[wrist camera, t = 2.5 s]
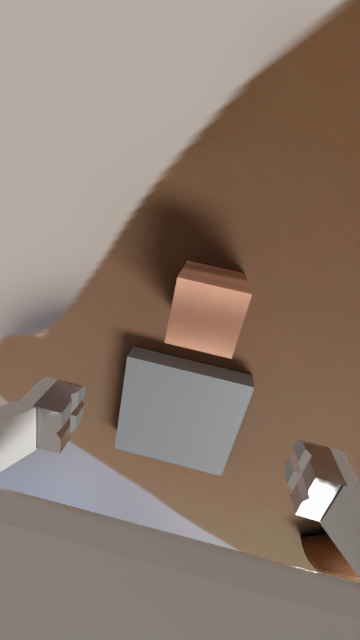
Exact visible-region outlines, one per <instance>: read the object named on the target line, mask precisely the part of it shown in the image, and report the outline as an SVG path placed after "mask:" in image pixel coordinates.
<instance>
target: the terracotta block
mask: <svg viewBox="0 0 360 640" xmlns="http://www.w3.org/2000/svg"><path fill="white" fill-rule="evenodd" d="M251 296H252V293H251V290H250V287H249V284H248V281H247V278H246V275H245V273H241V272H237V271H232V270H228V269H224V268H219V267H215V266H210V265H206V264H201V263H197V262H193V261H188V260H187V261H186V263H185V265H184V267H183V268H182V270H181V272H180V273H179V275H178V277H177V281H176V286H175V292H174V297H173V302H172V307H171V312H170V317H169V322H168V327H167V332H166V337H165V342H164V343H168V344H172V345H176V346H180V347H184V348H188V349H193V350H197V351H201V352H205V353H209V354H213V355H217V356H222V357H226V358H230V359H232V356H233V353H234V350H235V346H236V343H237V340H238V337H239V334H240V331H241V328H242V324H243V321H244V318H245V315H246V312H247V309H248V306H249V302H250V299H251Z"/></svg>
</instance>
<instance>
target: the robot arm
mask: <svg viewBox="0 0 360 640" xmlns="http://www.w3.org/2000/svg"><path fill="white" fill-rule="evenodd" d="M84 396H85V387H84V386H81V385H77V384H74V383H70V382H67V381H63V380H58V379H55V378H51V377H44V378H43V379H42V380H41V381H39V382H38V383H37V384H36V385H35V386H34V387H33V388H32V389H31V390H30V391H29V392H28V393H27V394H26V395H25V396H24V397H23V398H22V399H21V400H20V401H19V402H18V403H17V402H11V403H8V404H6V405H3V406H0V472H1V471H2V470H4V469H5V468H7V467H8V466H10V465H12V464H14V463H15V462H17V461H18V460H20V459H21V458H23V457H25V456H26V455H28V454H30V453H31V452H33V451H35V450H36V448H39V449H43V450H47V451H52V452H56V453H61V451H62V450H63V448H64V447H65V445H66V444H67V442H68V440H69V439H70V432H72V431H74V430H76V428H77V426H78V425H79V423H80V421H81V418H82V416H83V411H84V403H83V402H82V399H83V398H84ZM294 450H295V454H293V455H291V456H289V458H288V461H287V463H286V470H285V473H286V480H287V484H288V485H289V486H290V488H291V489H292V490H293V492H292V494H291V500H292V504H293V508H294V512H295V515H298V516H302V517H305V518H308V519H312V520H315V521H319V522H321V523H320V524H321V525H322V527H323V528H324V529H325V531H326V532H327V534H328V535H329V536H330V538H331V539H332V541H333V542H334V544H335V545H336V546H337V548H338V549H339V551H340V552H341V553H342V555H343V556H344V558H345V559H346V560H347V562H348V563H349V565H350V566H351V567H352V569H353V570H354V572H355V573H356V574H357V576H358V577H359V579H360V482H359V480H358V478H357V476H356V474H355V472H354V470H353V468H352V467H351V465H350V463H349V461H348V459H347V457H346V455H345V453H344V452H343V451H342V450H340V449H336V448H332V447H325V446H322V445H318V444H314V443H309V442H305V441H301V440H299V441H297V442H296V444H295V446H294ZM0 640H360V584H359V583H355V582H352V581H348V580H344V579H340V578H337V577H333V576H329V575H326V574H322V573H318V572H314V571H311V570H307V569H303V568H299V567H296V566H292V565H288V564H285V563H281V562H277V561H273V560H270V559H266V558H262V557H258V556H255V555H251V554H247V553H243V552H240V551H236V550H232V549H228V548H225V547H221V546H217V545H213V544H210V543H206V542H202V541H199V540H195V539H191V538H187V537H184V536H180V535H176V534H172V533H168V532H165V531H161V530H158V529H154V528H150V527H146V526H143V525H138V524H135V523H131V522H128V521H124V520H120V519H116V518H113V517H109V516H105V515H102V514H98V513H94V512H90V511H87V510H83V509H79V508H76V507H72V506H68V505H64V504H61V503H57V502H53V501H49V500H46V499H42V498H38V497H34V496H31V495H27V494H23V493H20V492H16V491H12V490H8V489H4V488H1V487H0Z"/></svg>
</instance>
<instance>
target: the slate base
mask: <svg viewBox="0 0 360 640" xmlns="http://www.w3.org/2000/svg"><path fill="white" fill-rule="evenodd" d="M253 390H254V382H253V377H252V375H249V374H245V373H241V372H237V371H233V370H229V369H225V368H221V367H216V366H212V365H208V364H204V363H200V362H196V361H192V360H188V359H184V358H179V357H175V356H171V355H167V354H163V353H159V352H155V351H151V350H146V349H142V348H138V347H134V346H133V348H132V350H131V351H130V353H129V354H128V356H127V362H126V370H125V377H124V384H123V391H122V398H121V406H120V413H119V420H118V427H117V434H116V442H115V448H116V449H120V450H124V451H128V452H131V453H135V454H139V455H143V456H147V457H151V458H154V459H158V460H162V461H166V462H170V463H174V464H177V465H181V466H185V467H189V468H193V469H197V470H200V471H204V472H208V473H212V474H216V475H220V476H221V475H222V472H223V470H224V467H225V464H226V462H227V459H228V457H229V454H230V451H231V449H232V446H233V443H234V441H235V438H236V435H237V433H238V430H239V427H240V425H241V422H242V419H243V417H244V414H245V411H246V409H247V406H248V403H249V401H250V398H251V395H252V393H253Z"/></svg>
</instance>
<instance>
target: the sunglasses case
mask: <svg viewBox="0 0 360 640" xmlns="http://www.w3.org/2000/svg"><path fill="white" fill-rule="evenodd" d="M301 541H302V545H303V548H304V552H305V554H306V556H307V558H308V560H309V562H310V563H311V564H312V566H313V567H314V568H315V569H317V570H318V571H320V572H322V573H325V574H330V575H334V576H338V577H343V578H350V579H359V577H358V576H357V574H356V573H355V572H354V570H353V569H352V567H351V566H350V565H349V563H348V562H347V560H346V559H345V558H344V556H343V555H342V553H341V552H340V551H339V549H338V548H337V546H336V545H335V544H334V542H333V541H332V539H331V538H330V536H329V535H328V534H321V535H316V536H306V537H303V536H302V535H301Z"/></svg>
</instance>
